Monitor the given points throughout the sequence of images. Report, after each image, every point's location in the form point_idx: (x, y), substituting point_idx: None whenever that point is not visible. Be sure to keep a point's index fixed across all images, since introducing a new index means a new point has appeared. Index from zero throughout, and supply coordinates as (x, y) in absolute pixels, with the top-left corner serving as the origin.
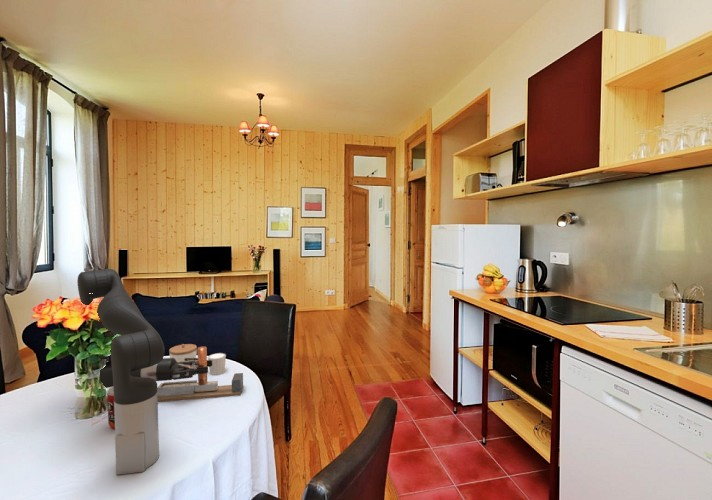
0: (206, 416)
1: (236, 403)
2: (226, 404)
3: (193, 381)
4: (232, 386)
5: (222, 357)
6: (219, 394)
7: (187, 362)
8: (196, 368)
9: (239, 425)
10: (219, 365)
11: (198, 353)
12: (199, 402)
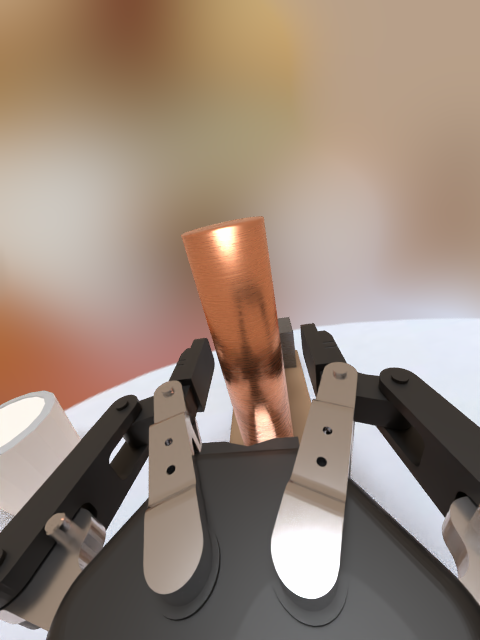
0: (474, 405)
1: (347, 354)
2: None
3: None
4: (294, 348)
5: (51, 396)
6: (309, 397)
7: (197, 470)
8: (331, 365)
9: (462, 323)
10: (69, 432)
11: (260, 270)
12: (368, 472)
